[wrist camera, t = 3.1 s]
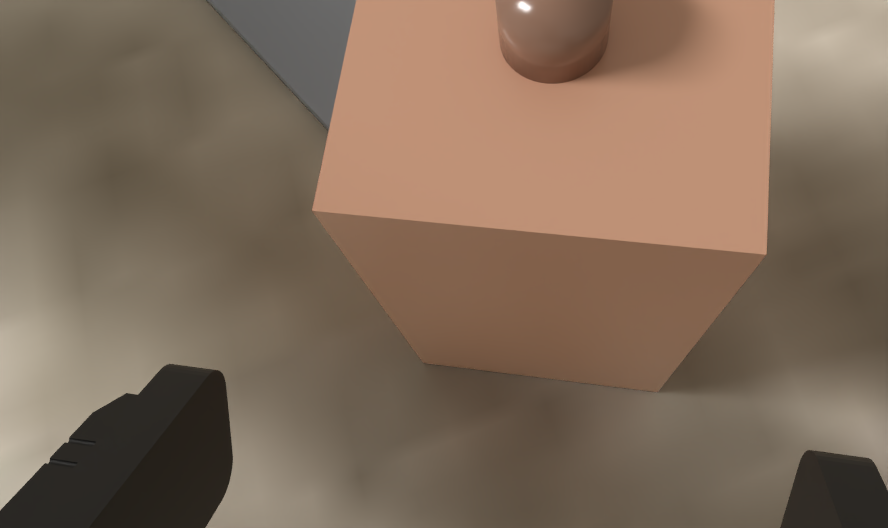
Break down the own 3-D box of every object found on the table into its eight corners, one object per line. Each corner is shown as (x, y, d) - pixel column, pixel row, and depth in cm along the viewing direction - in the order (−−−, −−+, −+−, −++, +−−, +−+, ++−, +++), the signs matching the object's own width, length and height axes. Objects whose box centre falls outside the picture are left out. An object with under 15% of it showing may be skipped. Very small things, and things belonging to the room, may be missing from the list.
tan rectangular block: (423, 363, 22) (286, 175, 10) (455, 155, 24) (369, -199, 12) (657, 392, 21) (792, 221, 9) (672, 173, 23) (801, -194, 11)
